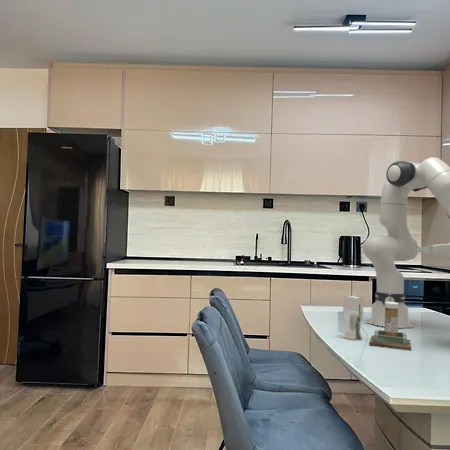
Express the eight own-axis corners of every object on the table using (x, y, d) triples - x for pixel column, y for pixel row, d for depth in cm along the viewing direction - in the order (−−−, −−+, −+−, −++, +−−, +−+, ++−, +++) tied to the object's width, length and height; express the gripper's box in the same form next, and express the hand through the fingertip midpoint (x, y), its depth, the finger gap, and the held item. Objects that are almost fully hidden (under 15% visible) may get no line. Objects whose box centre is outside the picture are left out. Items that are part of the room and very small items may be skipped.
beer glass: (338, 336, 156) (339, 295, 157) (354, 335, 158) (355, 295, 159) (350, 340, 149) (351, 298, 150) (366, 340, 152) (367, 298, 152)
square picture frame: (371, 338, 155) (371, 328, 155) (410, 342, 150) (410, 332, 150) (369, 345, 143) (369, 335, 143) (411, 350, 138) (411, 339, 138)
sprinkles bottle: (381, 339, 148) (382, 301, 149) (393, 339, 149) (394, 301, 149) (388, 342, 144) (388, 303, 144) (400, 342, 144) (401, 303, 145)
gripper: (456, 242, 156) (415, 240, 162) (464, 241, 138) (417, 240, 143) (455, 259, 156) (415, 257, 162) (463, 261, 137) (417, 258, 143)
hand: (416, 249), depth 152 cm, fingers open, 8 cm apart
